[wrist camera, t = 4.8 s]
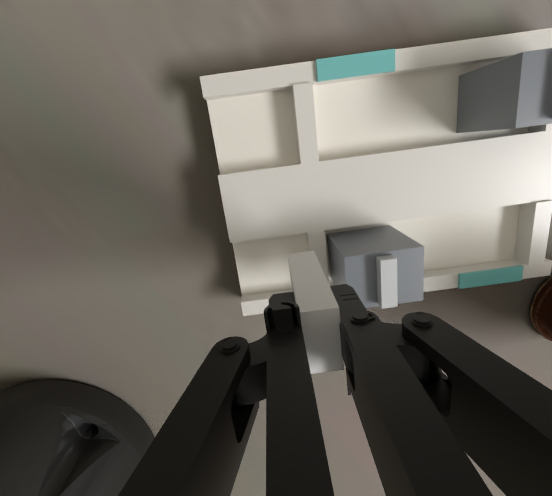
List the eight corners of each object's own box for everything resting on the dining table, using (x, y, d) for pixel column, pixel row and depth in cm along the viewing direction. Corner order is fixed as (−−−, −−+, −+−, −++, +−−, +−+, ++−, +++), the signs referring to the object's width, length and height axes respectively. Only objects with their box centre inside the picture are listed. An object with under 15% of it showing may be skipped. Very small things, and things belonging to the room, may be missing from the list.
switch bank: (245, 298, 23) (243, 317, 20) (207, 85, 18) (198, 75, 16) (520, 261, 23) (553, 276, 20) (546, 39, 18) (592, 21, 16)
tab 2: (456, 133, 18) (526, 127, 13) (458, 75, 17) (535, 47, 12) (524, 123, 18) (619, 114, 13) (530, 65, 17) (635, 33, 12)
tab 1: (330, 276, 21) (350, 316, 16) (326, 233, 20) (347, 261, 15) (390, 269, 21) (429, 305, 16) (389, 225, 20) (430, 250, 15)
